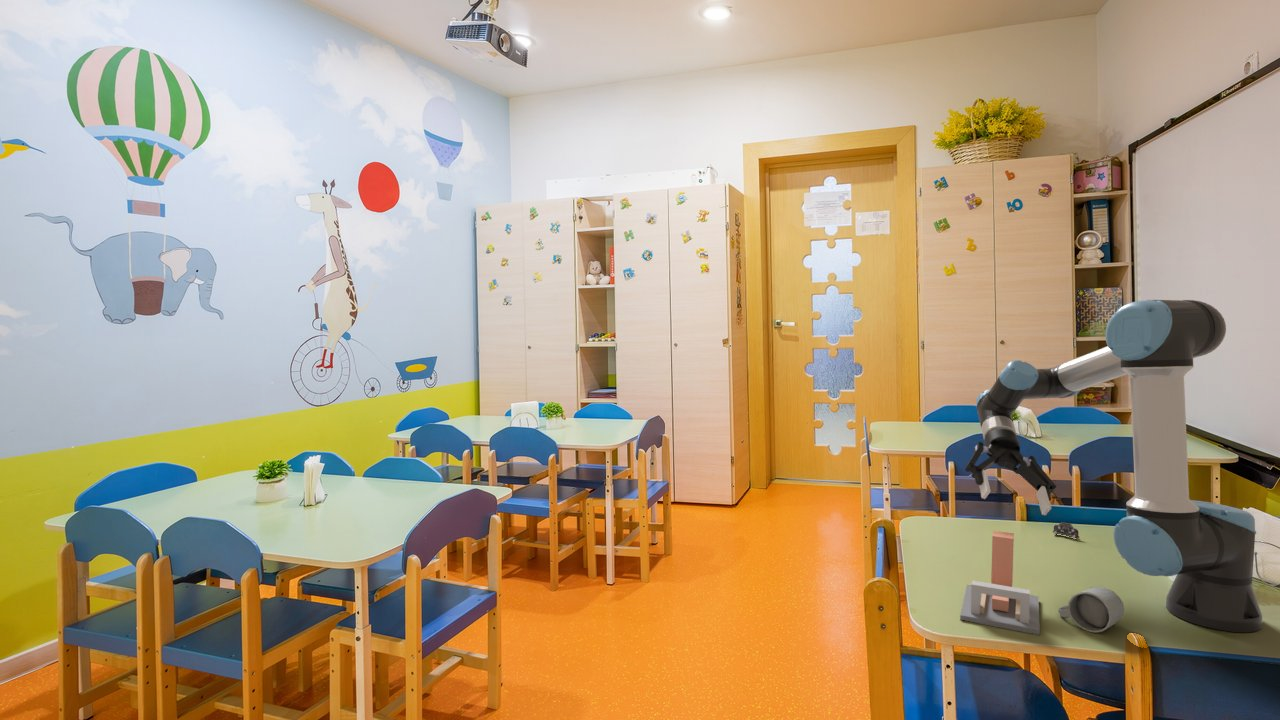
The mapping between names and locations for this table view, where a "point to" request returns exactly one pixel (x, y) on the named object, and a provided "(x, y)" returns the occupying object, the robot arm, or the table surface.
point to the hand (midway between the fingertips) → (1016, 503)
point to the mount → (980, 610)
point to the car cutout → (1066, 530)
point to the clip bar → (1002, 566)
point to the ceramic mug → (1094, 609)
